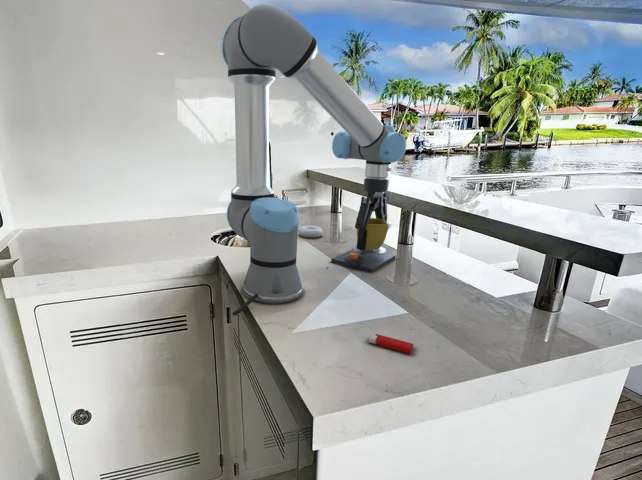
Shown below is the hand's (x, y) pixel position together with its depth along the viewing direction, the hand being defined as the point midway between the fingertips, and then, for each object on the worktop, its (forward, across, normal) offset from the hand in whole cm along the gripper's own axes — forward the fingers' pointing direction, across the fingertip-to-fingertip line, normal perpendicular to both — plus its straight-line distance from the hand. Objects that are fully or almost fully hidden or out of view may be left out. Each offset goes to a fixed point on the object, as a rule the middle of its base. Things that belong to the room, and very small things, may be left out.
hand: (369, 245), depth 125 cm
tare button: (+2, -10, 0) cm, 11 cm away
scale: (+5, -3, 0) cm, 5 cm away
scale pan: (+2, 0, 0) cm, 2 cm away
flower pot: (+1, 0, 0) cm, 1 cm away
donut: (+5, +12, +31) cm, 34 cm away
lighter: (+5, -48, -28) cm, 56 cm away
